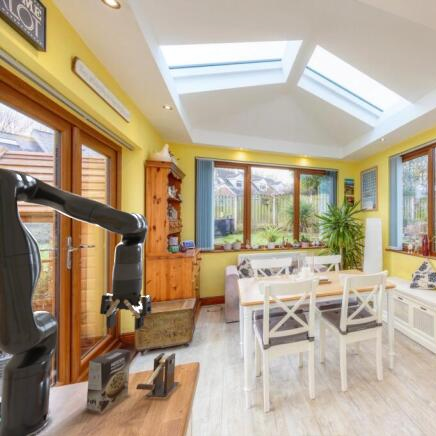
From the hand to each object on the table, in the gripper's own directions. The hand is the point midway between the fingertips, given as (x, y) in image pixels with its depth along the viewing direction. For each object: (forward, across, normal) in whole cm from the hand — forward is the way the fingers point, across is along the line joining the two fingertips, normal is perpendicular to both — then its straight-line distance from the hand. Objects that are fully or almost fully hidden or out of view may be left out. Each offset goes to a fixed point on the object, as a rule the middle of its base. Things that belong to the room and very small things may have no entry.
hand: (125, 328), depth 81 cm
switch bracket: (+28, +5, +13) cm, 31 cm away
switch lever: (+20, +5, +9) cm, 22 cm away
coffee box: (+28, -9, +6) cm, 30 cm away
